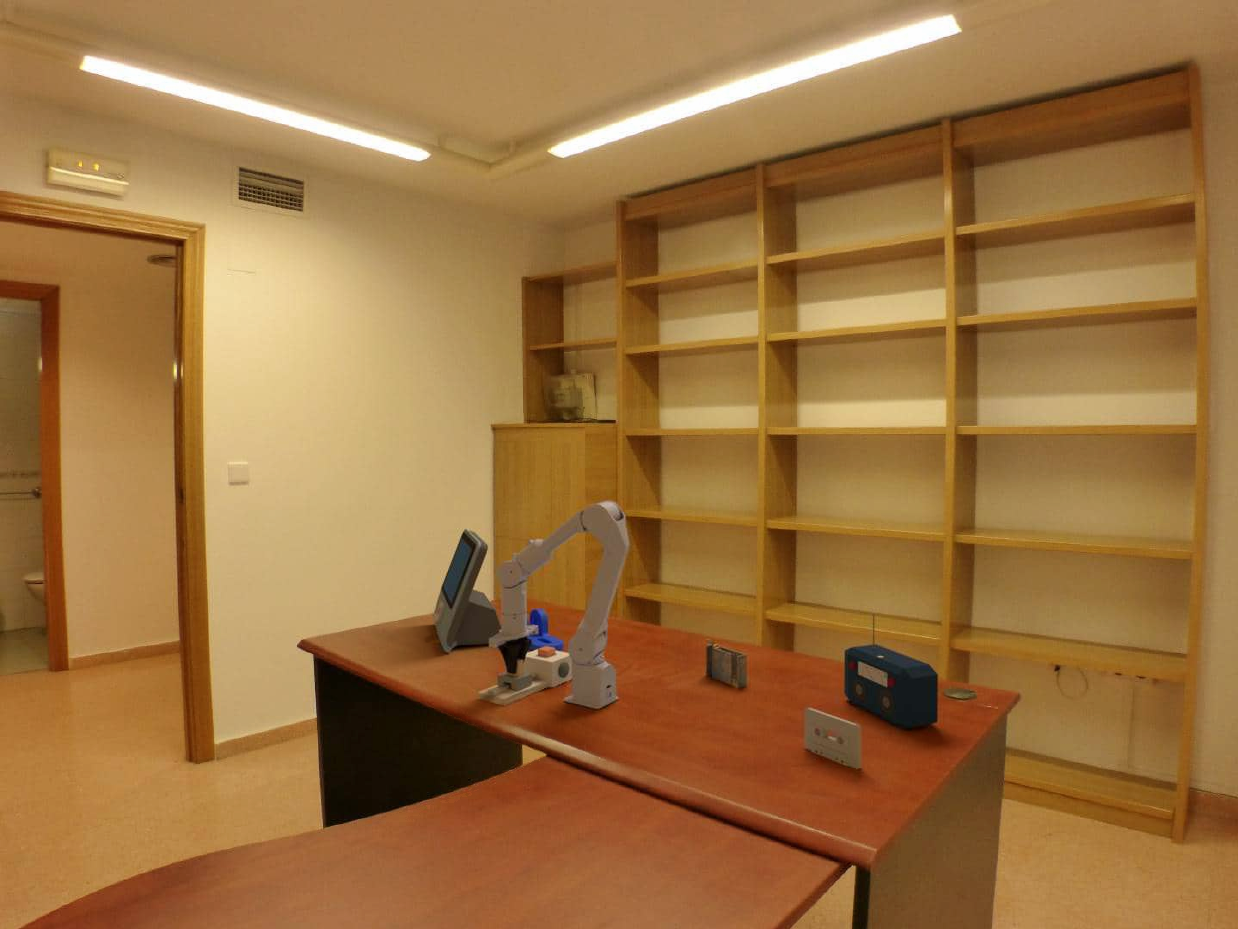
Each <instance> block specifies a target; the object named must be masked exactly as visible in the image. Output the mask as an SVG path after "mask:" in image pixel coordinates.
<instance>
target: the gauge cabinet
mask: <svg viewBox="0 0 1238 929" xmlns="http://www.w3.org/2000/svg"><path fill="white" fill-rule="evenodd" d="M523 669H524V672H526V673H531V674H532V673H536V674H539V679H544V680H548V681H549V687H548V688H551V687H553V688H556V687H557V685H558V686H560V685H562V684H561V683H563V682H565V681H567V682H569V680H570V681H572V680H571V679H572V658H571V657H570V655H569V653H568V652H566V651H565V652H564V651H556V655H554V656H552V657H549V658H546V657H541V656H538V649H537V650H534V651H532V650H530V651H529V652H528V651H527V654H526V657H525V661H524V665H523ZM565 683H566V682H565ZM559 684H560V685H559ZM563 684H564V683H563Z"/></svg>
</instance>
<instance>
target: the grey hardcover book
mask: <svg viewBox="0 0 1238 929" xmlns="http://www.w3.org/2000/svg"><path fill="white" fill-rule="evenodd" d="M704 640H706V642H707V643H709V645H705V676H706V675H707V676H711V678H712V679H715V680H718V681H720V682H722V683H725V684H728V685H730V686H733V687H736V688H742V687H747V684H748V683H747V654H746V653H742V652H739V651H736V650H733V649H730V648H727V647H724V646H720V645H718V643H717V642H715V640H712V639H709V638H706V637H705V638H704Z"/></svg>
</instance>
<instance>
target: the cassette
mask: <svg viewBox="0 0 1238 929" xmlns="http://www.w3.org/2000/svg"><path fill="white" fill-rule="evenodd" d="M803 729H804V732H803V734H804V737H803V738H804V742H803V743H804V747H803V748H804V749H806V750H808V751H810V752H811V753H813V754H816V755H819V756H822V757H823V758H825V759H828V760H832V761H833V762H836V763H838V764H841V765H843V766H846V767H851V768H853V769H855V770H859V769H861V768H862V725H861V724H859V723H854V722H852V721H849V720H847V719H844V718H841V717H837V716H835V715H832V714H829V713H826V712H823V711H820V710H818V709H814V708H812V707H810V706H808V707H805V708H804V728H803ZM829 733H830V734H832V735H835V737H832V736H830V735H829Z"/></svg>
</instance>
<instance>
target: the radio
mask: <svg viewBox="0 0 1238 929" xmlns="http://www.w3.org/2000/svg"><path fill="white" fill-rule="evenodd" d="M843 676H844V681H843V682H844V691H843V692H844V693H843V694H844V695H845V696H846V698H847V699H848V701H849V702H850V703H851V704H852V705H854V706H857V707H858V708H860V709H862V710H865V711H866V712H867V713H870V714H872V715H874V716H876V717H878V718H880V719H882V720H884V721H886V722H888V723H890V724H892V725H894V726H895V727H898V728H900V729H901V730H908V729H913V728H919V727H924V726H925V727H926V726H929V725H933V724H935V723H938V719H939V718H938V717H939V716H938V711H939V709H938V708H939V707H938V703H939V701H938V700H939V698H938V697H939V674H938V673H937V672H936V670H934V668H933V667H932V666H931V665H930V664H929V663H926V662H924V661H921V660H918V659H916V658H913V657H910V656H908V655H905V654H902V653H900V652H897V651H895V650H892V649H890V648H887V647H884V646H882V645H879V644H876V643H875V612H874V613H872V644H867V645H865V644H864V645H859V646H858V645H857V646H850V647H849V648H847V649H845V650H844V675H843Z"/></svg>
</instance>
